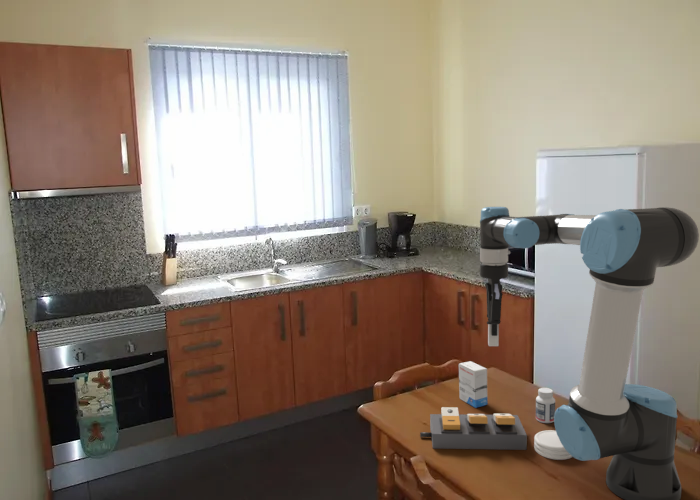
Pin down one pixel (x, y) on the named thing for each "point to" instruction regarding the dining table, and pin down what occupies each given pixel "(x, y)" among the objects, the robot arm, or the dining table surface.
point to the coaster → (550, 445)
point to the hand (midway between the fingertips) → (493, 345)
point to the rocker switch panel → (477, 434)
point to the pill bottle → (545, 406)
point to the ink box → (473, 384)
